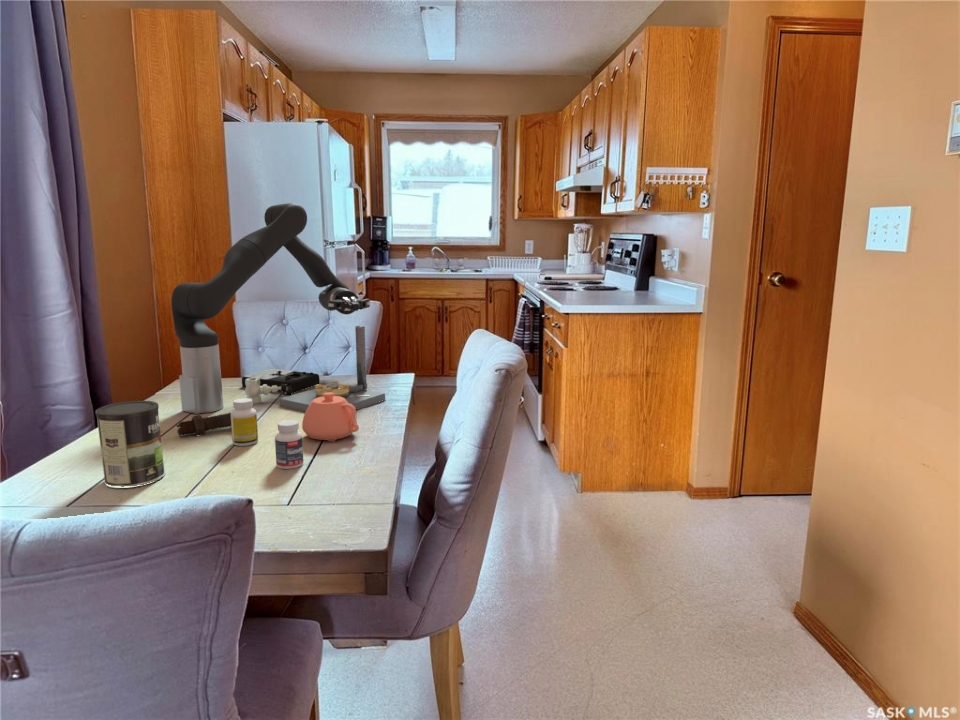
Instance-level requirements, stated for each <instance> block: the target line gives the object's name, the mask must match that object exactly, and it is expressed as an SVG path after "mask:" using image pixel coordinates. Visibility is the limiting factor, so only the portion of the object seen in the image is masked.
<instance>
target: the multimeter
mask: <svg viewBox="0 0 960 720" xmlns="http://www.w3.org/2000/svg"><path fill="white" fill-rule="evenodd" d="M286 376H290V380H291V388H292V392H291V394H295V393H297V392H301V391H304V390H306V388H307V389H309V388H308V387H310V388H312V387H311V386H313V387H315V386H314V385H316V384H321V383H320V380H321V379H320V374H318V373H313V372H306V371H295V370H286V369H277V368H269V369H265V370H261V371H257V372H254V373H250V374H246V375H244V376H242V377H241V386H242V388H245V387H246V384H245V380H246V379H248V378H259V379H260V386H263V384H267V386H270V387H272V386H274V385H277V387H280V386H281V385H282V383H283V382H287V381H285V378H286ZM303 389H304V390H303ZM294 392H295V393H294ZM276 393H282V392H281V390H277V392H276ZM285 393H286V391H285Z"/></svg>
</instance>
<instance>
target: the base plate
mask: <svg viewBox="0 0 960 720" xmlns="http://www.w3.org/2000/svg"><path fill="white" fill-rule="evenodd" d="M315 398H318V397H317V396H316V388H314V389H310V390H306V391H302V392H299V393H293V394H292V395H291V396H288V395H287V396H284V397H283V396H282V397H280V398H279V407H285V408H288V409H293V410H299V411H302V412H306V410H307V408H308V407H309V405H310V403H311V402H312V401H313V400H314V399H315ZM344 398H345V400H346V401H347V402H348V403H349V404H352V405H353V406H354V407H355V409H357V410H360V409H362V407H363V408H366V407H369V406H371V404H372V405H375V404H377V403H376V402H378V403H380V402H379V401H381V402H383V401H382V400H384V401H386V393H385V392H380V391H374V390H369V389H366V390H357V391H352V392H350V395H349V396H347V397H344ZM374 403H375V404H374ZM368 405H369V406H368ZM365 406H366V407H365ZM359 408H360V409H359Z"/></svg>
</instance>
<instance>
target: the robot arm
mask: <svg viewBox="0 0 960 720" xmlns="http://www.w3.org/2000/svg"><path fill="white" fill-rule="evenodd" d="M263 217H264V223H265V226H264V227H262V228H260V229H257V230H254V231H253V232H250V233H248V234H247V235H245V236H243V237H241V239H238V241H237V242H235V243H234V244H233V245H232V246H231V247H230V248H228V250H227V251H226V253H225V255H224V257H223V261H222V268H221V270H220V271H219V272H218V273H217V274H216V275H214V276H213V277H212V278H211V279H210V280H208V281H205V282H182V283H179V284H178V285H176V286H175V288H173V291H172V294H171V299H170V300H171V301H170V303H171V313H172V318H173V319H172V320H173V326H174V332H175V335H176V338H178V342H179V349H180V361H181V362H180V363H181V373H182V374H180V375H179V376H178V379H179V389H180V390H179V391H180V401H181V411H183V412H187V413H190V414H194V415H199V414H204V413H205V414H206V413H212V412H217V411H219V410H222V409H223V408H224V398H223V397H224V396H223V386H222V385H223V383H222V373H221V371H222V370H221V358H220V348H219V347H220V346H219V344H220V343H219V335H218V334H217V332H216V331H214V330H212V329H211V328H210V327H208V326H207V324H206V323H205V320H210V319H213V318H215V317H216V316H218V315H219V314H220V313H221V311H222V310H223V309H224V308H225V307H226V305H227V304H229V301H230V300H231V299H232V298H233V296H234V295H235V294H236V293H237V292H238V290H240V288H242V287H243V285H245V284H246V283H247V282H248V281H249V280H250V279H251V278H252V276H254V275H255V274H256V273H258V271H259V270H261V268H263V267H264V266H265V264H266V263H268V262H269V260H270V259H271V258H272V257H273V256H274V255H276V253H278V252H279V250H281V248H283V247H284V248H285V249H286V250H287V251H288V253H290V255H291V256H292V257H293V258H294V259H295V260H296V261H297V262H298V263H299V265H300V266H301V267H302V269H303V270H304V272H305V273H306V275H307V276H308V277H309V279H310V280H311V282H312V283H313V285H314V286H315V287H317V288H324V287H326V288H325V289H323V290H322V291H320V293H319V294H318V302H319V304H320V305H321V307H323V308H324V309H325V310H327V311H330V312H333V311H337V312H338V313H340V314H341V315H351V314H353V313H354V312H358V311H359V310H364V309H369V308H370V307H371V301H370V298H365V299H364V298H363V299H361V298H359V297H358V295H357V294H356V293H355V292H354V291H352V290H350V288H349V286H348V285H346V284H345V283H344V282H343V281H342V280H341V279H339V278H338V277H337V276H336V275H335V274H334V273H333V271H332V269H331V268H330V267H329V265H328V264H327V262H326V261H325V259H324V258H323V256H321V255H320V254H319V253H318V251H316V250H315V249H313V248H312V247H310V246H309V245H307V244H306V243H305V242H304V241H303V240H302V239H301V238H299V237H298V235H300V234H301V233H302V232H303V231H304V230H305V228H306V226H307V224H308V223H307V222H308V214H307V211H306V210H305V208H304V207H303V206H301V205H300V204H298V203H292V202H287V203H282V204H275V205H271V206H269V207H268V208H266V210H265V213H264V216H263Z"/></svg>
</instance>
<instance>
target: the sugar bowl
mask: <svg viewBox="0 0 960 720" xmlns="http://www.w3.org/2000/svg"><path fill="white" fill-rule="evenodd" d="M304 412H305V413H304V414H303V418H302V424H301V429H302V431H303V432H304V433H305V434H306V435H307V436H308V437H309V438H311V439H313V440H314V439H315V440H319V441H320V440H321V441H323V440H324V441H327V442H329V441H333V442H336V441H337V440H338V439H344V438H346V437H348V436H351V434H353V433H356V432H358V430H359V429H360V427H359V425H358V421H357V410H356V409H355V407H354V406H353V405H352V404H349V403H348V402H347V401H346V400H345V398H343V397H340V396H334V393H332V392H327V393H324V394H323V397H318V398H315V399H314V400H313V401H312V402H311V403H310V405H309V407H308V408H307V410H306V411H304ZM335 440H336V441H335Z"/></svg>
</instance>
